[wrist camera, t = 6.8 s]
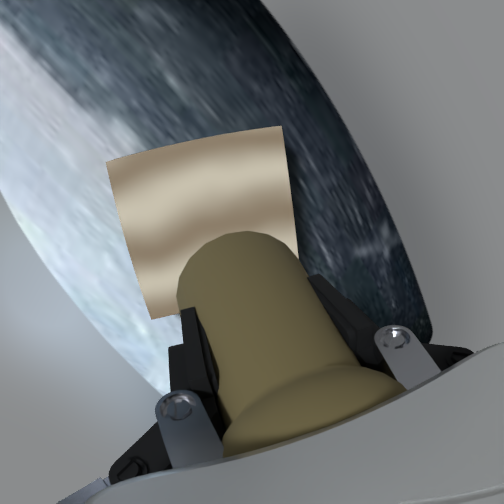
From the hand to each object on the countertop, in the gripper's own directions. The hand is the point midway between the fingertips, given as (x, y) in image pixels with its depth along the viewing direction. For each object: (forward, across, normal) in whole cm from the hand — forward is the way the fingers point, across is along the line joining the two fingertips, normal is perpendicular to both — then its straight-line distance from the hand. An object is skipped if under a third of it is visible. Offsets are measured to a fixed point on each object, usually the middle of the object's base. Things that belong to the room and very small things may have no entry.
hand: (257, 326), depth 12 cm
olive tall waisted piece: (+3, 0, 0) cm, 3 cm away
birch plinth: (+19, 0, 0) cm, 19 cm away
